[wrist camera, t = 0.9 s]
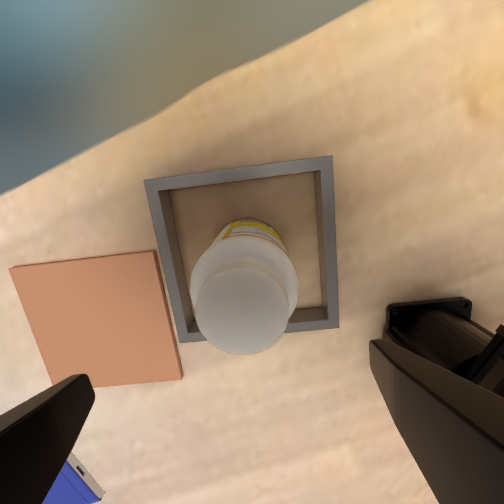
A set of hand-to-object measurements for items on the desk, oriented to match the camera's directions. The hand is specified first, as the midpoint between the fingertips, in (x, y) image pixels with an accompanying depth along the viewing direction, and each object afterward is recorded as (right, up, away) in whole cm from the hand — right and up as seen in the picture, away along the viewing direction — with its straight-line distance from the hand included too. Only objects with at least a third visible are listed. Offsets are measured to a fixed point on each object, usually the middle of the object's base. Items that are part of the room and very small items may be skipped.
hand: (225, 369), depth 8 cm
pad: (-12, -3, +14) cm, 19 cm away
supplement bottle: (+1, +4, +13) cm, 13 cm away
